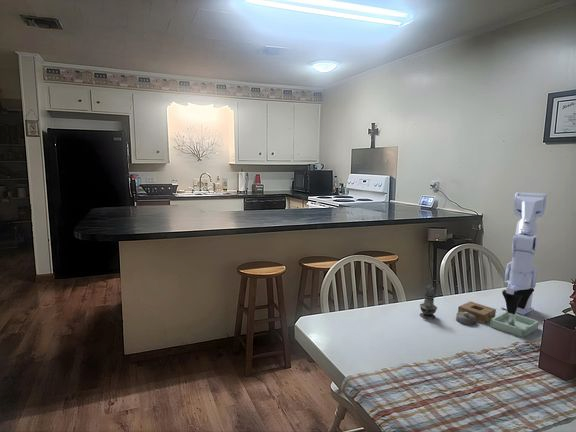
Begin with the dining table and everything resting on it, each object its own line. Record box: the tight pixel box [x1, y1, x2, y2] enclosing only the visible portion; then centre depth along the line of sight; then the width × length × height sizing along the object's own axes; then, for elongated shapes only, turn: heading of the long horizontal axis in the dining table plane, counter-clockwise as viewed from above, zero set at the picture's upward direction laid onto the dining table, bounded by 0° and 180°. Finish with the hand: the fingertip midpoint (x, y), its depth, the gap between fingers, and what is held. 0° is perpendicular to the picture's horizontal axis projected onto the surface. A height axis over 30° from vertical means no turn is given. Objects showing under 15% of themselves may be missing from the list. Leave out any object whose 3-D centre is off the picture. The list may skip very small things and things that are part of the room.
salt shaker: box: [419, 283, 438, 320], centre depth 131 cm, size 6×6×12 cm
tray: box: [489, 310, 540, 339], centre depth 124 cm, size 12×10×2 cm
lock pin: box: [507, 312, 517, 326], centre depth 124 cm, size 3×3×8 cm
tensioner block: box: [455, 300, 497, 326], centre depth 131 cm, size 15×9×3 cm, turn 128°
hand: (515, 310), depth 124 cm, fingers open, 7 cm apart
